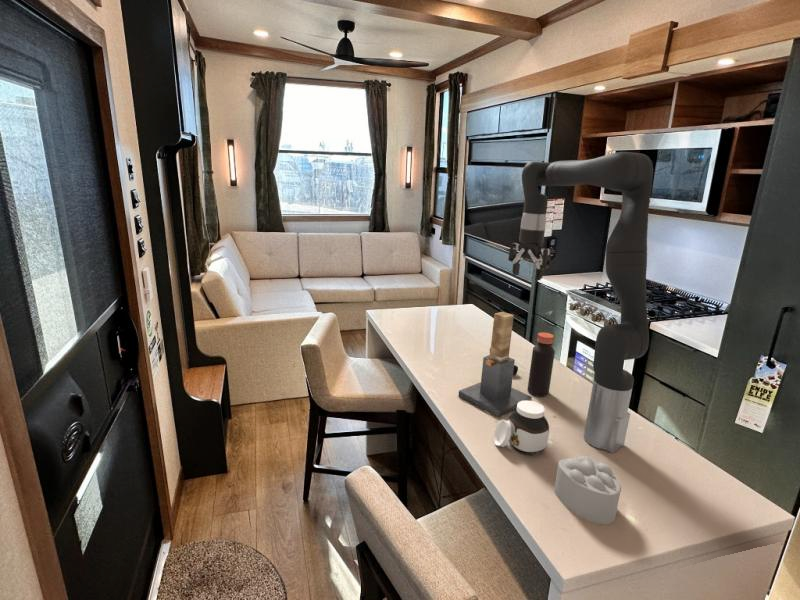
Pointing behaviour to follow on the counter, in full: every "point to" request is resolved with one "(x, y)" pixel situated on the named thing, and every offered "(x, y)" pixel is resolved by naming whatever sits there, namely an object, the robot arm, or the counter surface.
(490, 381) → the metal sleeve stand
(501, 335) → the oak post
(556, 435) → the counter surface
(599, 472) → the lumpy-topped squat cylinder
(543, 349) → the bottle
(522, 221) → the robot arm
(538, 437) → the spread jar
